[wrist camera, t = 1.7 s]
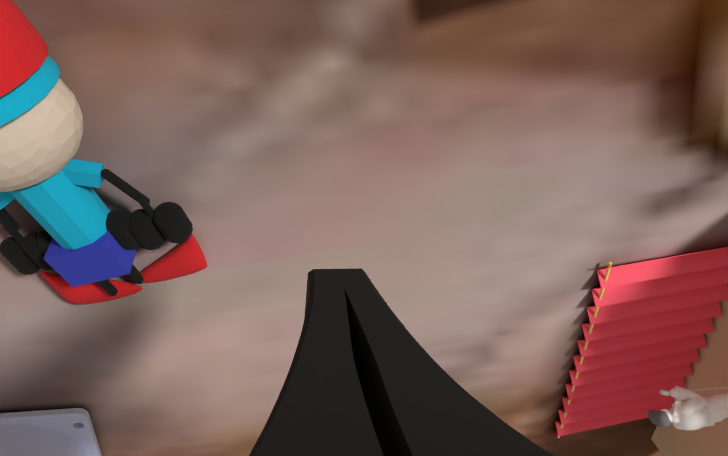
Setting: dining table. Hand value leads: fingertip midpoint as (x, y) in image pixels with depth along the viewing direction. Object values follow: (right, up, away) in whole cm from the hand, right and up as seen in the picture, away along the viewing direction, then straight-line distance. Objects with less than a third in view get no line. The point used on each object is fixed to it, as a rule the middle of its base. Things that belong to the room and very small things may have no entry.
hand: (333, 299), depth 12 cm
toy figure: (-11, +5, +6) cm, 13 cm away
